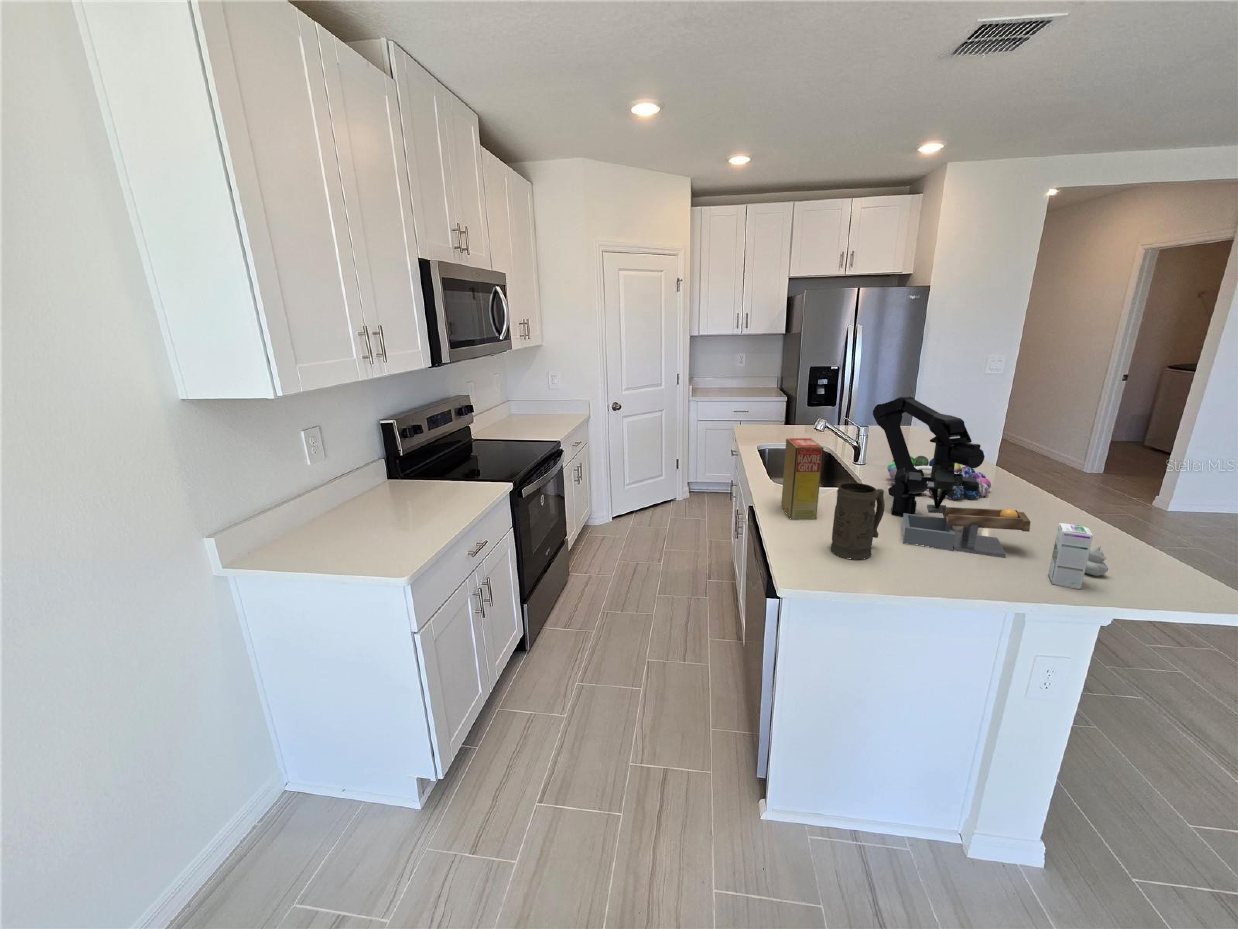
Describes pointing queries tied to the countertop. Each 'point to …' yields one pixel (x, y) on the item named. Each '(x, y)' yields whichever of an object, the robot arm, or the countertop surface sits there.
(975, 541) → the lever stand
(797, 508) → the food packaging
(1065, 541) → the syrup box
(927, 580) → the countertop surface
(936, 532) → the grey open tray
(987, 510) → the tipping lever
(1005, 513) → the ball
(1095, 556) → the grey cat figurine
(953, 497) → the decorated egg ring holder
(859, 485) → the beer stein
